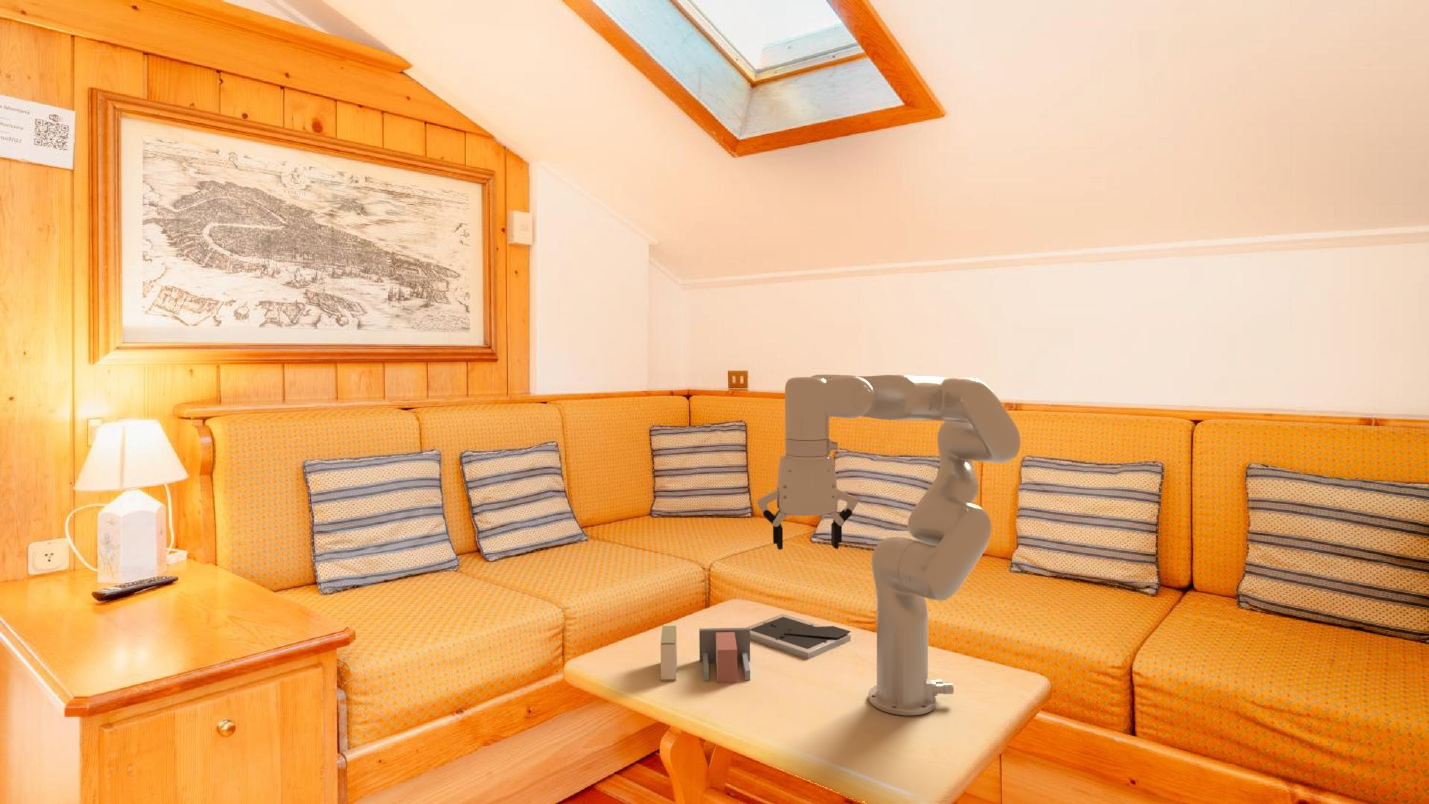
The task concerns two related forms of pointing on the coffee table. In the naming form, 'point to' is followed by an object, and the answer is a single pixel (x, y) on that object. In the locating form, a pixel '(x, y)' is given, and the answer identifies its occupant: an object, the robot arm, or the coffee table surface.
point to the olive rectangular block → (668, 653)
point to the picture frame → (798, 636)
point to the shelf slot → (709, 647)
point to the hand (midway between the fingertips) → (807, 547)
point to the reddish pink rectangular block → (726, 657)
